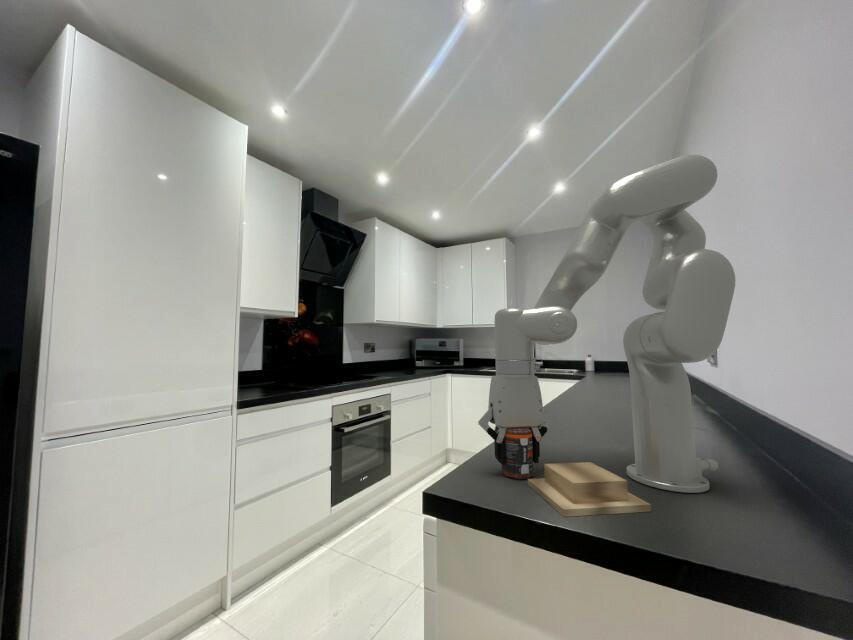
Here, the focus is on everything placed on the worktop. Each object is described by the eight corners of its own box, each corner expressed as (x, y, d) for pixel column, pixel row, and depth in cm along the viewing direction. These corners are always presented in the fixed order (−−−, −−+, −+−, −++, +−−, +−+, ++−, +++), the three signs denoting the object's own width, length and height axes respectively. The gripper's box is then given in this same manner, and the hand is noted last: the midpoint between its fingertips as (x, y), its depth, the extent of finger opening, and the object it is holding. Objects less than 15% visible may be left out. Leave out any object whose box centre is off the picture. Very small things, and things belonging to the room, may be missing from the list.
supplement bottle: (535, 481, 61) (533, 418, 62) (502, 479, 62) (500, 417, 63) (531, 470, 66) (529, 413, 68) (501, 468, 68) (500, 412, 69)
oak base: (599, 481, 61) (597, 459, 62) (651, 511, 49) (649, 483, 50) (527, 484, 59) (527, 461, 60) (564, 516, 47) (563, 487, 48)
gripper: (545, 368, 71) (549, 454, 69) (468, 368, 69) (469, 457, 67) (564, 369, 64) (569, 466, 62) (478, 370, 62) (480, 470, 60)
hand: (517, 460), depth 64 cm, fingers closed on supplement bottle, 6 cm apart
